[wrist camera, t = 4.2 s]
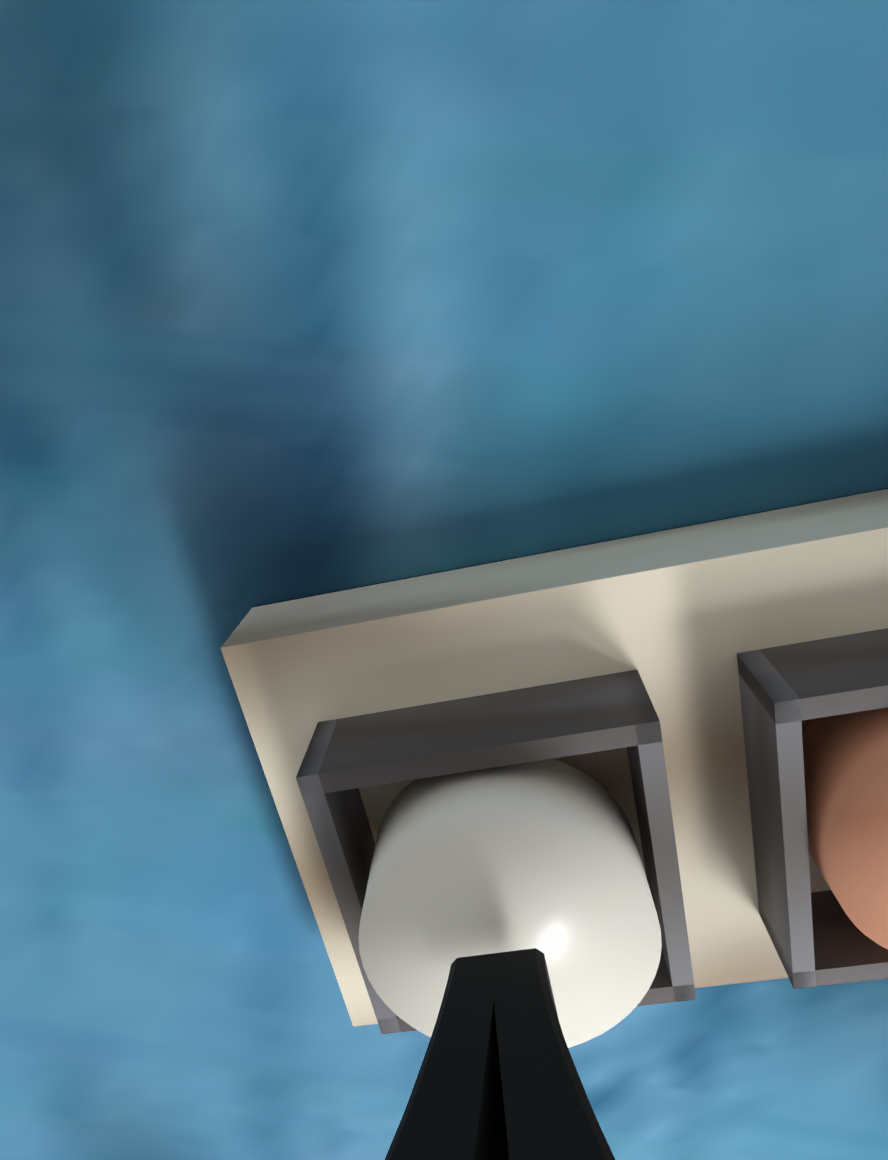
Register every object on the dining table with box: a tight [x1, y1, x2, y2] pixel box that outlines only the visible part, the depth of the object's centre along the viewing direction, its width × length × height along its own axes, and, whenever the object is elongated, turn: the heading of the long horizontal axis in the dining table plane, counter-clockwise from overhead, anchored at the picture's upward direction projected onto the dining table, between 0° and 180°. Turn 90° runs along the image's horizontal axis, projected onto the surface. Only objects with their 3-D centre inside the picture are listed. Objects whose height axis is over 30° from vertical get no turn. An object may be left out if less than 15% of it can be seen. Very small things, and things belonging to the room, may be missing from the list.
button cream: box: [358, 759, 662, 1048], centre depth 13 cm, size 5×5×2 cm
